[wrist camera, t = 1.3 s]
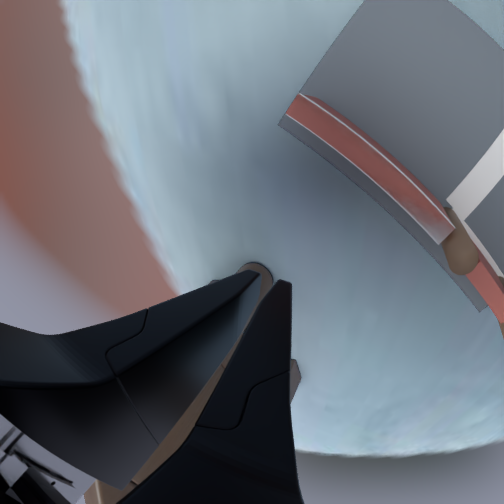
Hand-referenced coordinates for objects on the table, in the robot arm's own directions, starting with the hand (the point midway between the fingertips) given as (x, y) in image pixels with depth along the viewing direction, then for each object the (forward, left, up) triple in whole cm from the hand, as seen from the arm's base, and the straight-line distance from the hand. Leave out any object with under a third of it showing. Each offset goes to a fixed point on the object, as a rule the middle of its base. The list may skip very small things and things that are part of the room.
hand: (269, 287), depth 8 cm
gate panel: (-1, -3, -11) cm, 12 cm away
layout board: (-5, -8, -12) cm, 16 cm away
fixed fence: (-11, -3, -12) cm, 17 cm away
